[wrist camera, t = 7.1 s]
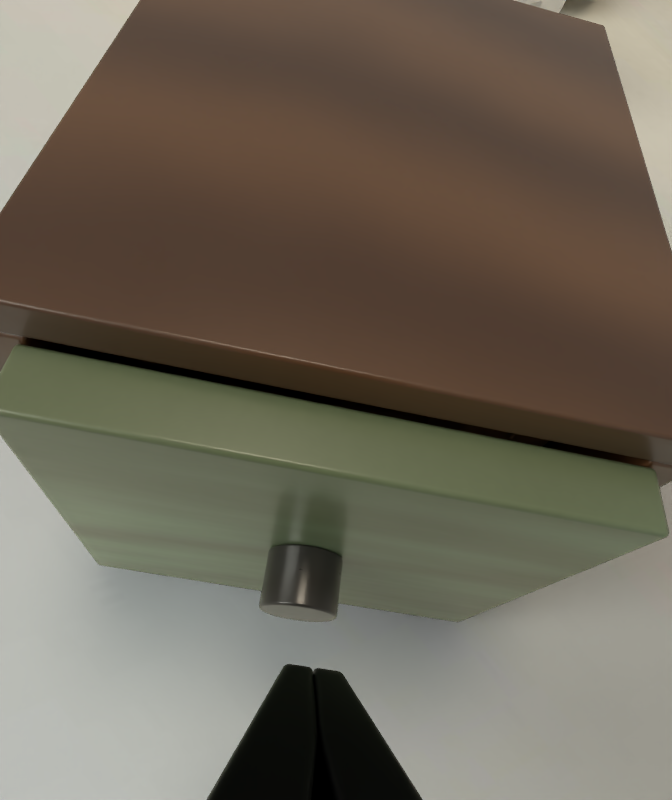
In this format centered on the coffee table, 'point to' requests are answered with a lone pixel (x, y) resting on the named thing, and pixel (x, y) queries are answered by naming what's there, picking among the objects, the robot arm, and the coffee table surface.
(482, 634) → the coffee table surface
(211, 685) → the coffee table surface
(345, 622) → the coffee table surface
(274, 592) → the drawer
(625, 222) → the cabinet
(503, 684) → the coffee table surface
